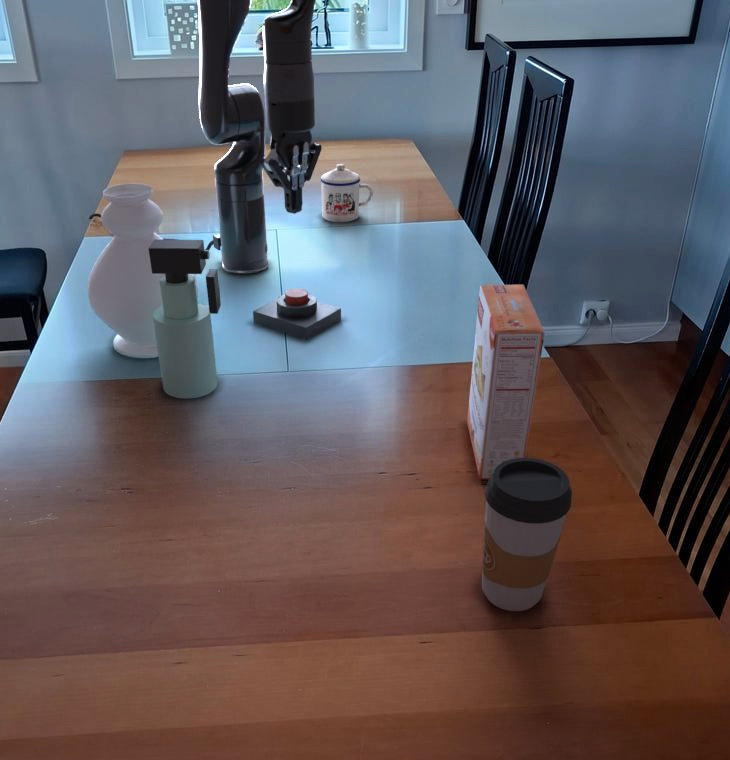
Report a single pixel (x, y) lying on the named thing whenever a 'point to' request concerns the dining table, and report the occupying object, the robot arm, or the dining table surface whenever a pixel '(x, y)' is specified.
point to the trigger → (213, 291)
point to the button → (296, 296)
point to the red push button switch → (297, 316)
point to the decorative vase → (128, 270)
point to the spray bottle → (183, 320)
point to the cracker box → (503, 375)
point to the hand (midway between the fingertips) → (293, 211)
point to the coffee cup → (522, 530)
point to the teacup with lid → (342, 195)
